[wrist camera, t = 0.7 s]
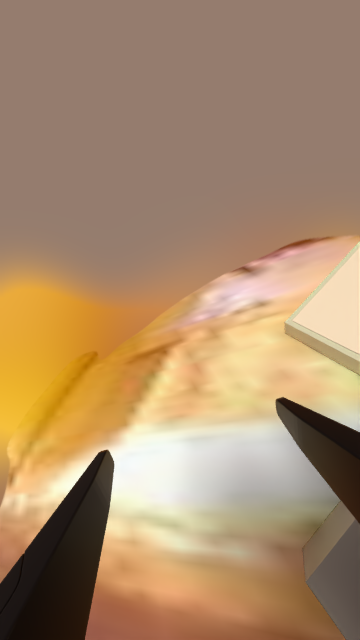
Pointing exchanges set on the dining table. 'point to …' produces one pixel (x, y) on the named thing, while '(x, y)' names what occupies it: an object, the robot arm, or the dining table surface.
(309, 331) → the stand
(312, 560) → the block
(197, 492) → the dining table surface
